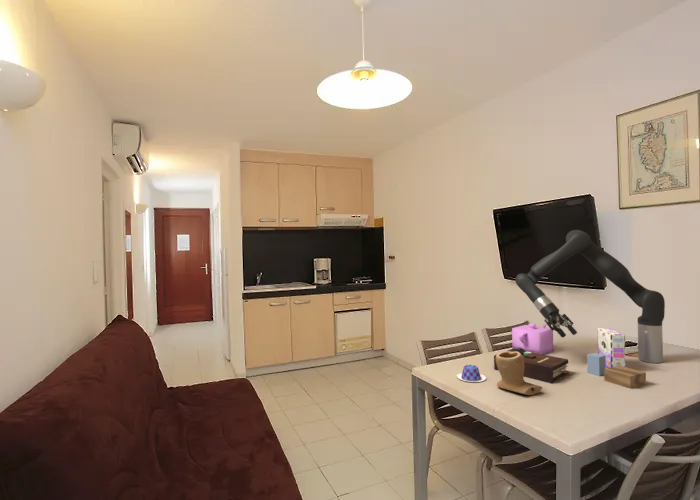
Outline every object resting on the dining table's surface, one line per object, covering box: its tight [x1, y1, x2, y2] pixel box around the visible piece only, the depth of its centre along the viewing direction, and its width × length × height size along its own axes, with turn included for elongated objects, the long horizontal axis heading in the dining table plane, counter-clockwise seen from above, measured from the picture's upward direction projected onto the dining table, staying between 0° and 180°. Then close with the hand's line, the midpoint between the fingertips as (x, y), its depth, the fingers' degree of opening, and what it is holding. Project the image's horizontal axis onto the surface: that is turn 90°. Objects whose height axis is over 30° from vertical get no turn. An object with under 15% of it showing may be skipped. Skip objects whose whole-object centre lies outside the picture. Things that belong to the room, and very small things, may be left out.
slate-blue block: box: [586, 352, 607, 377], centre depth 168 cm, size 5×5×8 cm
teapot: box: [511, 323, 554, 355], centre depth 207 cm, size 15×25×14 cm, turn 125°
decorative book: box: [493, 347, 570, 384], centre depth 173 cm, size 19×8×30 cm
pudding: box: [456, 364, 487, 383], centre depth 167 cm, size 12×12×5 cm
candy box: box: [597, 327, 626, 369], centre depth 176 cm, size 14×6×16 cm, turn 168°
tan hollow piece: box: [495, 350, 543, 396], centre depth 152 cm, size 15×12×15 cm
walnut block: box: [603, 366, 647, 390], centre depth 157 cm, size 10×10×5 cm
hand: (570, 335), depth 178 cm, fingers open, 8 cm apart
